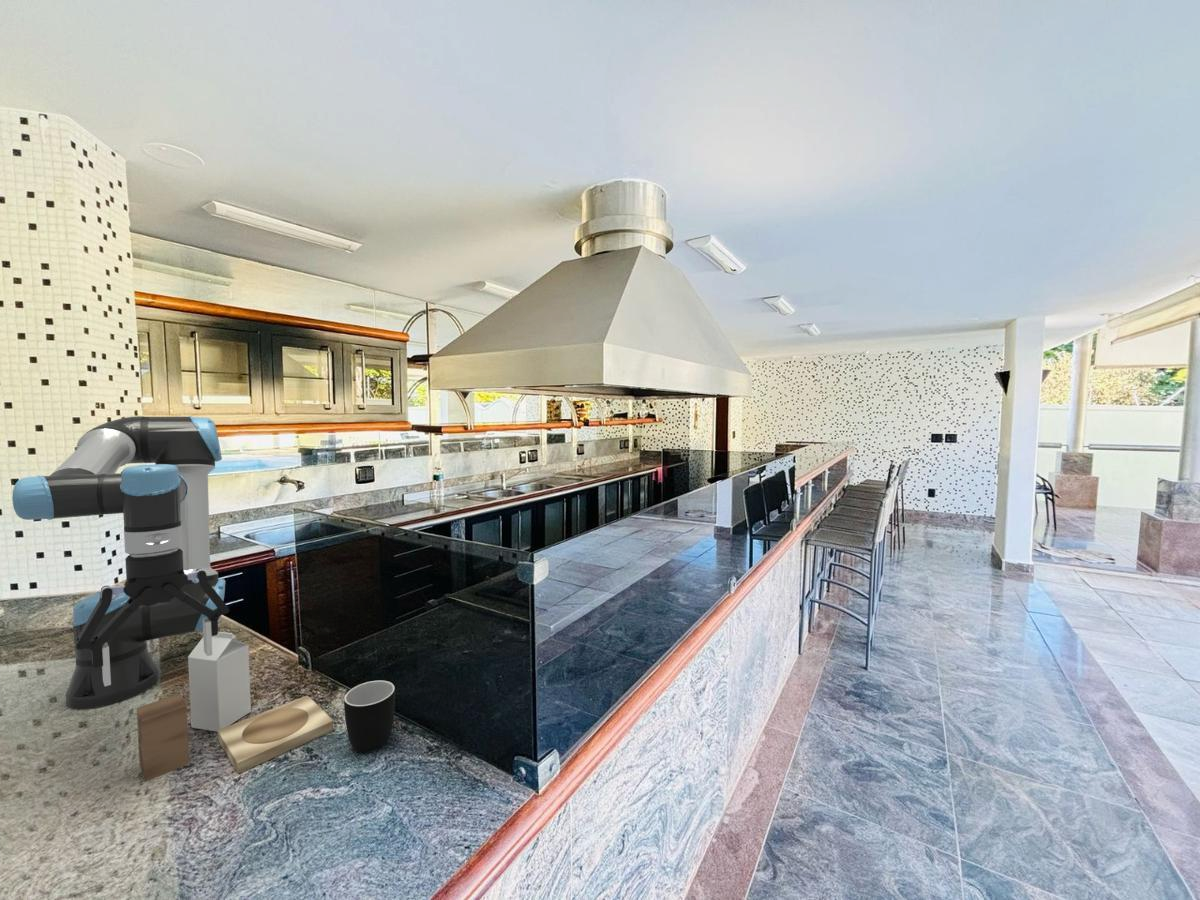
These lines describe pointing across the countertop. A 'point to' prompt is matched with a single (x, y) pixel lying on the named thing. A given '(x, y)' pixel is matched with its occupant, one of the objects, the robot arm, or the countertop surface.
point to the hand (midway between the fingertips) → (160, 667)
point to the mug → (369, 715)
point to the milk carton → (219, 683)
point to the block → (162, 736)
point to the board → (273, 732)
